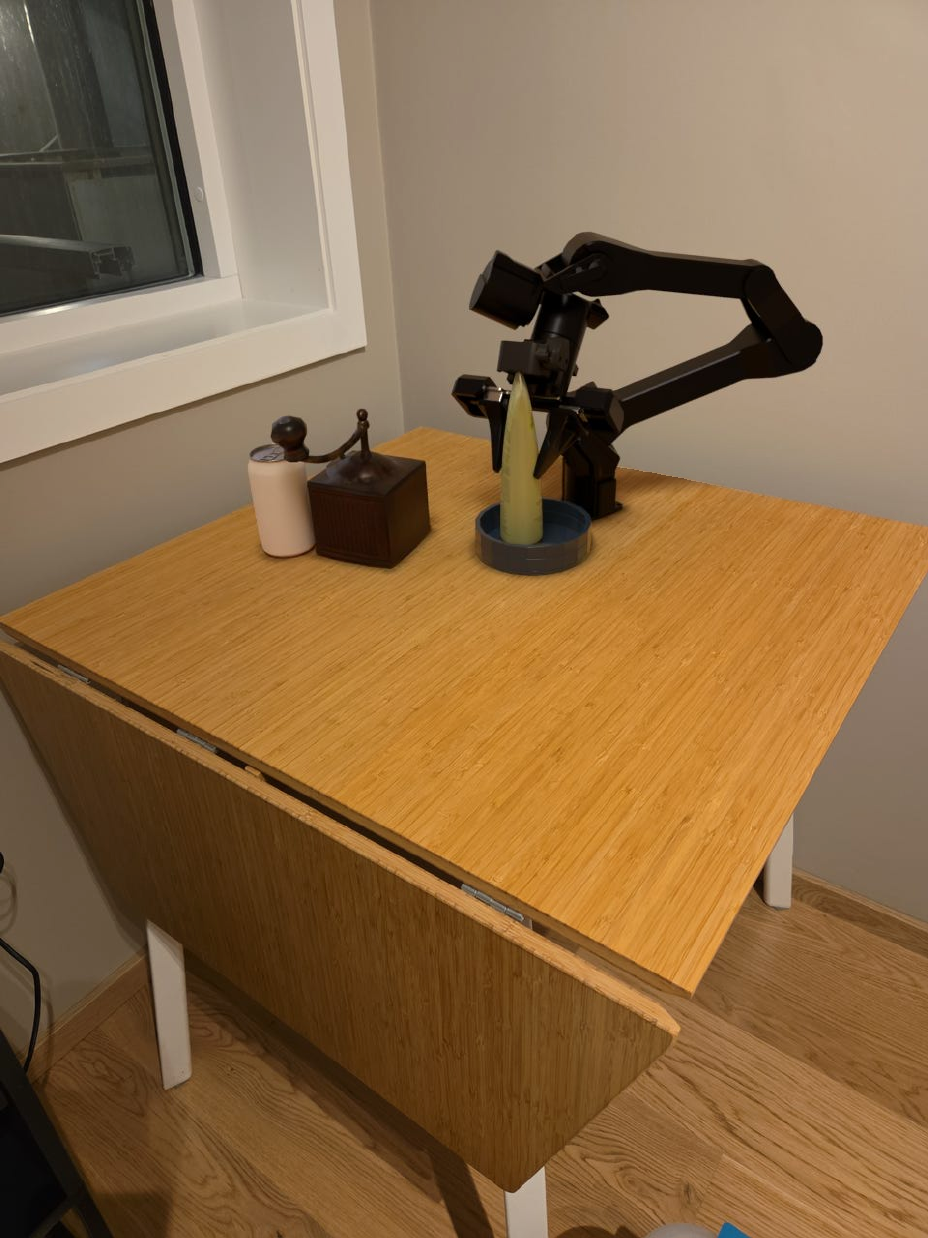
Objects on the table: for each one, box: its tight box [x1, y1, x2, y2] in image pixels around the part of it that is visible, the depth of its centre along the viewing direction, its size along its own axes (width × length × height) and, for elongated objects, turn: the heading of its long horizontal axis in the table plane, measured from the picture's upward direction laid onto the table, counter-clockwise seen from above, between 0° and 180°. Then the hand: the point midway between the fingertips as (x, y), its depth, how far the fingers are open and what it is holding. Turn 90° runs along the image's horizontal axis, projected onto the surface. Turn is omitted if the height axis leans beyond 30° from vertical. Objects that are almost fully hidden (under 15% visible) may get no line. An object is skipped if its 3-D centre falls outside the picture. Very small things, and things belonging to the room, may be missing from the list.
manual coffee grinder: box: [270, 408, 432, 569], centre depth 101 cm, size 16×11×18 cm
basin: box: [474, 496, 592, 576], centre depth 104 cm, size 13×13×4 cm
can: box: [247, 442, 316, 559], centre depth 105 cm, size 6×6×12 cm
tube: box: [500, 371, 543, 545], centre depth 99 cm, size 6×5×20 cm
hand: (515, 474), depth 99 cm, fingers closed on tube, 4 cm apart
